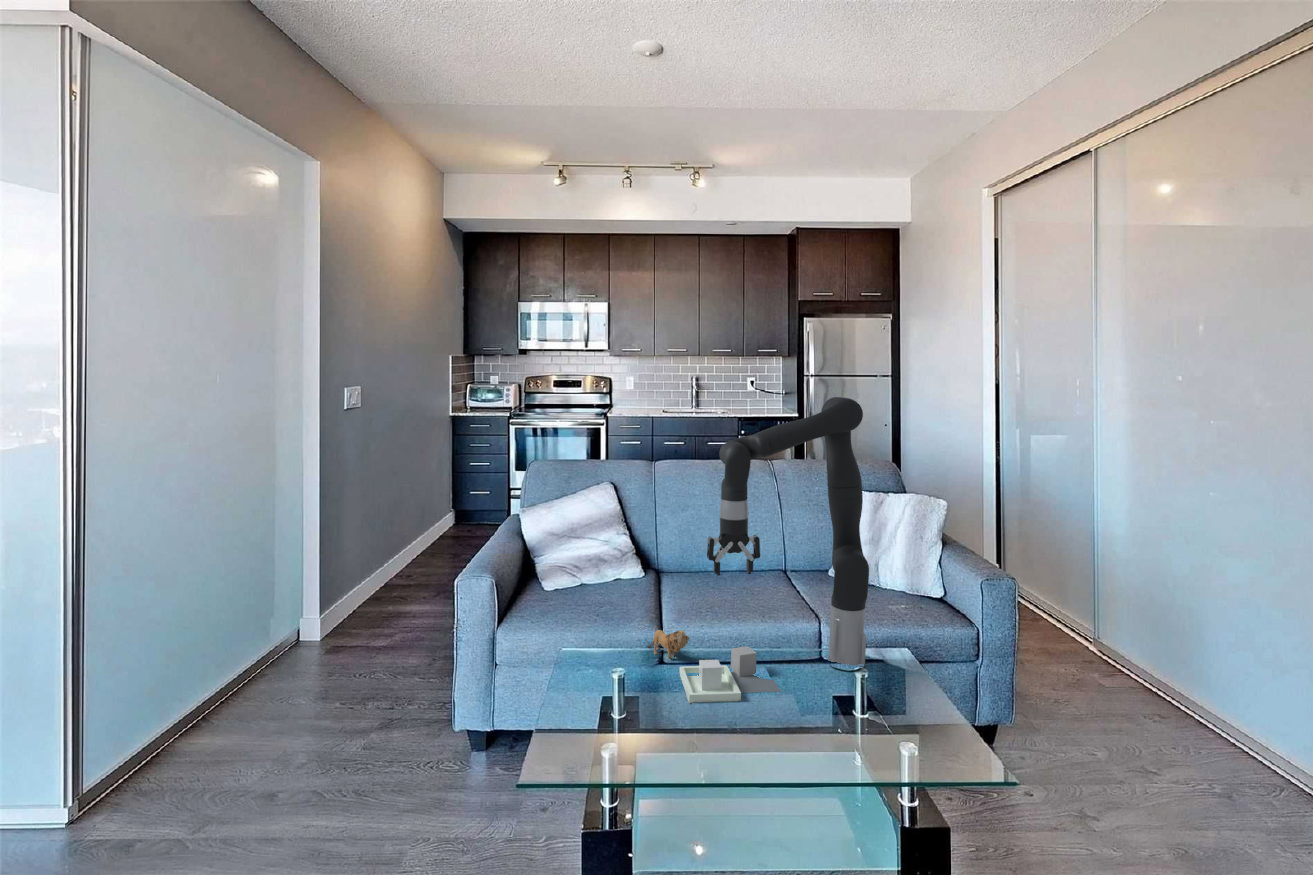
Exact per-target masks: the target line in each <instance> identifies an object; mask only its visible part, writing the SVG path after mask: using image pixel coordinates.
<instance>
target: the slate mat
mask: <svg viewBox="0 0 1313 875" xmlns="http://www.w3.org/2000/svg"><path fill="white" fill-rule="evenodd" d="M731 674H732V676H733V678H734V680H735V682H736V684H737V686H738V688H739V690H740V692H741V694H748V693H749V694H751V693H752V694H753V693H756V694H757V693H780V692H782V691H781V689H780V688H779V686H778V684H777V683H776V681H775V680H774V679H773V680H770V679H769V680H768V679H760V678H761V677H760V678H759V677H757V676H754V675H748V676H742V677H739V676H738V675H736V674H735V673H734V672H731ZM762 678H763V677H762Z"/></svg>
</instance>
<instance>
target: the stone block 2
mask: <svg viewBox="0 0 1313 875" xmlns="http://www.w3.org/2000/svg"><path fill="white" fill-rule="evenodd" d="M730 654H731V656H730V667H731V668H732V671H733V672H734V673H735V674H736V675H738V676H739V677H742V676H748V675H753V674H755V673H756V666H757V655H758V654H757V652H756V651H754V650H753V649H752V648H750V647H749V646H748V645H747V646H740V647H732V648H731V651H730Z"/></svg>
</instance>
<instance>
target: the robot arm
mask: <svg viewBox="0 0 1313 875" xmlns="http://www.w3.org/2000/svg"><path fill="white" fill-rule="evenodd" d="M823 403H824V404H823V405H822V408H821V411H820V412H818V413H815V414H812V415H809V416H808V417H804V418H800V419H796V420H792V421H788V422H784V423H780V424H777V425H774V426H771V427H769V428H766V429H764V430H761V431H758V432H756V433H754V434H749V435H745V436H741V437H737V438H734V439H731V440H728V441H727V442H725V443H723V445H722V446H721V447H720V450H719V451H718V452H719V460H720V461H721V462H722V464H724V478H723V479H722V481H721V488H720V492H721V494H720V496H721V497H720V499H721V500H720V505H719V507H720V508H719V536H718V537H712V536H708V537H707V547H706V548H707V549H706V557H707V559H708V560H709V561H712V562H713V572H714V573H715V574H716V576H718V577H719V576H721V562H720V561H721V559H722V558H723V557H724V556H726V554H735V553H736V554H741V553H743V554H744V555H745V556H746V574H747V575H751V574H752V573H753V572H754V561H755V560H756V559H760V558H761V547H760V546H761V544H760V543H761V542H760V541H761V540H760V539H761V538H760V537H759V536H758V535H757V534H754V535H752V536H749V514H750V513H749V505H748V502H749V501H748V481H749V476H750V471H751V462H752V460H754V459H757V458H766V457H767V458H768V457H770V456H773V455H776V454H778V453H780V452H783V451H786V450H789V449H791V448H794V447H796V446H799V445H801V444H804V443H807V442H810V441H812V440H816V439H820V438H822V437H824V438H823V439H824V443H825V451H826V452H825V453H826V454H825V455H826V456H825V457H826V459H825V460H826V461H825V462H826V473H827V474H826V477H827V478H826V479H827V482H826V484H827V497H828V505H829V514H830V515H829V516H830V519H831V525H832V536H833V537H832V555H831V565H832V569H833V571H834V572H833V574H834V575H833V588H832V589H833V591H832V595H831V599H830V600H831V601H830V617H829V618H830V619H829V621H830V622H829V623H830V624H829V642H828V655H827V656H828V657H827V658H828V660H827V661H831V662H837V663H841V664H847V665H848V664H849V665H858V664H865V665H866V650H867V648H866V647H867V634H865V617H866V602H867V600H868V595H869V594H868V593H869V592H868V591H869V581H870V580H869V578H870V565H869V562H868V560H867V559H866V557H865V555H864V552H863V547H862V541H861V532H860V530H861V529H860V526H861V519H862V512H863V503H864V502H863V497H864V496H863V483H862V476H861V473H860V469H859V466H858V463H857V459H856V457H855V454H854V451H853V446H852V431H853V430H855V429H856V428H858V427H859V426H860V424H861V423H862V421H863V418H864V411H863V408H862V406H861V405H860V403H858V402H857V401H856V400H854V399H851V398H849V397H841V396H834V397H831V398H828V399H827V400H826V401H825V402H823ZM749 543H751V544H752V545H753V546H752V548H753V553H751V552H750V550H748V548H747V546H748V544H749ZM717 544H719V545H720V547H719V548H718V549H717V552H716V553H715V552H714V550H715V549H714V548H715V546H717ZM714 553H715V554H714Z"/></svg>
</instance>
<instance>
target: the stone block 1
mask: <svg viewBox="0 0 1313 875" xmlns="http://www.w3.org/2000/svg"><path fill="white" fill-rule="evenodd" d="M698 662H699V663H698V666H699V684H700V687H701V690H702V691H703V690H721V679H722V667H721V663H720V661H719V659H699V661H698Z"/></svg>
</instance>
